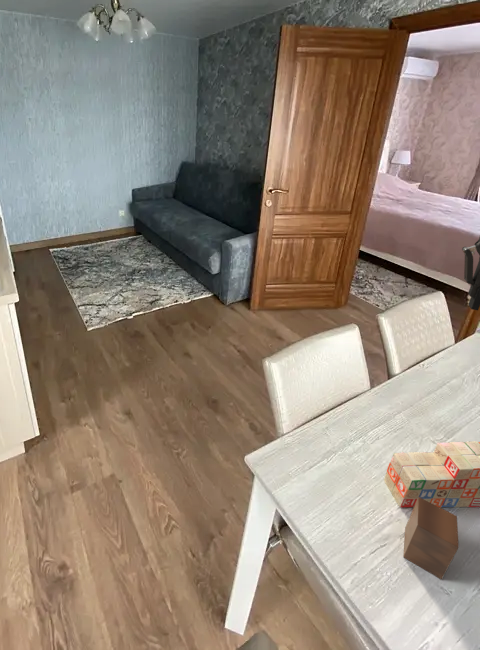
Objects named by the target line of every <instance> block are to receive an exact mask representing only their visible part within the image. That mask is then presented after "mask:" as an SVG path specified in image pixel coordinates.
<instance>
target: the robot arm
mask: <svg viewBox="0 0 480 650" xmlns="http://www.w3.org/2000/svg"><path fill="white" fill-rule="evenodd" d="M461 250H462V253H463V254H464V267H463V268H464V273H463V274H464V275H463V278H464V280H465V282H466V283H467V284H469V285H470V287H469V290H468V292H467V294H468V296H469V297H470V299H469V301H468V304H467V305H468V307H469V308H470V310H473V311H479V310H480V236H479V237H478V240H477V241H476V242H474V244H473V245H471V246H463V247H461ZM476 252H477V254H478V256H479V257H478V263H477V265H476V267H475V271H474V255H475V254H476Z"/></svg>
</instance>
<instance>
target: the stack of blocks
mask: <svg viewBox="0 0 480 650" xmlns="http://www.w3.org/2000/svg"><path fill="white" fill-rule="evenodd" d="M434 447H435V448H434V449H433V451H431V452H428V451H427V452H425V451H424V452H423V451H422V452H420V451H416V452H415V451H408V452H393V453H392V457H391V459H390V462H388V463H389V464H388V466H387V469H386V471H385V475H384V477H383V481H384V482H385V484H386V486H387V488H388V490H389V491H390V493H391V495H392V497H393V498H394V500H395V502H396V504H397V505H398V507H399V508H414V506H415V503H416V501H417V499H418V497H420V498H422V499H424V500H426V501H428V502H430V503H432V504H434V505H436V506H438V507H440V508H454V507H455V508H462V507H463V508H464V507H465V508H467V507H468V508H480V441H477V440H475V441H473V440H472V441H450V442H449V441H448V442H446V441H445V442H437V443H436V446H434Z"/></svg>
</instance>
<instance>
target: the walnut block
mask: <svg viewBox="0 0 480 650" xmlns="http://www.w3.org/2000/svg"><path fill="white" fill-rule="evenodd" d="M458 528H459V527H458V516H457V515H456V514H454V513H451V512H449V511H448V510H446V509H443V507H438V506H436V505H434V504H432V503H430V502H428V501H426V500H424V499H422V498H420V497H418V499H417V501H416V503H415V506H414V507H412V510H411V513H410V516H409V518H408V521H407V523H406V525H405V527H404V539H403V540H404V542H403V555H402V556H403V558H404V559H405V560H407V561H409V562H411V563H412V564H414V565H416V566H418V567H419V568H420V569H422V570H424V571H426V572H427V573H430V574H431V575H433V576H434V577H436V578H438V579H439V580H443V578H444V576H445V574H446V572H447V571H448V569H449V567H450V566H451V563H452V561H453V559H454V558H455V556H456V554H457V551H458V550H459V548H460V546H459V545H460V543H459V530H458Z"/></svg>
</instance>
